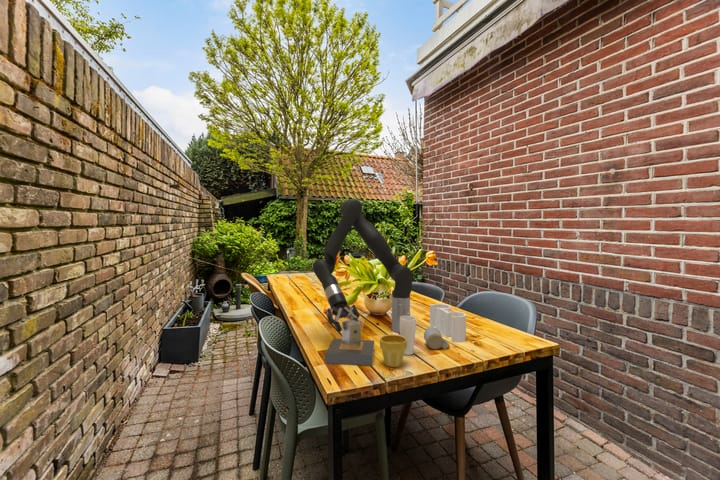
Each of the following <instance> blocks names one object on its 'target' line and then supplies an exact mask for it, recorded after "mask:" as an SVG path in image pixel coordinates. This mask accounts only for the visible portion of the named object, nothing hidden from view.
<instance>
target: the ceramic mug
mask: <svg viewBox="0 0 720 480" xmlns="http://www.w3.org/2000/svg"><path fill="white" fill-rule="evenodd" d="M423 339H424V340H425V343H426V345H427V346H428V348H430V349H432V350H438V349H441V348H442V347H443V348H445V349H449V347H450V343H449V342H448V341H446V340H445V339H444V338H443V336H442V334H441V333H440V331H439V330H438V329H437V328H436V327H430V326H429V327H428V328H426V329H425V330H424V332H423Z"/></svg>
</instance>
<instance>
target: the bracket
mask: <svg viewBox="0 0 720 480" xmlns="http://www.w3.org/2000/svg"><path fill="white" fill-rule="evenodd" d="M430 327H434V328H437V329H438V330H439V331H440V333H441V335H443V336H444V337H445V338H450V337H451V343H465V342H466V341H467V340H466V339H467V337H466V336H467V313H464V312H462V311H452V305H450V304H445V303H432V304H429V328H430Z"/></svg>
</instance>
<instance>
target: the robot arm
mask: <svg viewBox="0 0 720 480" xmlns="http://www.w3.org/2000/svg"><path fill="white" fill-rule="evenodd" d="M340 212H341V218H340V220H339V222H338V224H337V226H336V227H335V229H334V230H333V232H332V234H331V235H330V237H329V238H328V240H327V242H326V244H325V247H324V249H323V255H325V259H322V258H317V259H315V261H313V264H312V269H313V273H314V275H315V276H316V278H317V280H319V282H320V283H321V286H322V288H323V291H324V293H325V298H326V300H327V302H328V305H329V307H330V308H327V310H326V311H325V314H326V318H327V321H328V324H329V325H334V328H335V330H336V331H337V332H338V333H342V325H341V323H340V321H339V319H343V318H344V319H345V318H347V319H349V320H355V321H357V322H359V320H358V319H359V318H360V316H361V315H360V313H359V310H358V309H357V307H356V305H355V304H352V305H351V306H349V304H348V302H347V301H348V300H347V298H346V297H345V294H344V292H343V290H342V288H341V286H340V284H339V281H338V280H337V278H336V276H335V275H334V274H333V272H334V270H335V269H336V263H337V260H338V255H339V253H340V252H341V249H342V247H343V244H344V242H345V240H346V238H347V236H348V234H349V233H350V231H351V229H352V228H354V229H355V232H357V233H358V235H359V237H360V238H361V239H362V241H363V242H364V244H365V245H366V246H367V247H368V249H369V251H370V252H371V253H372V254H373V255H374V256H375V257H376V259H377V260H378V261H379V262H380V263H381V264H382V265H383V267H384V269H385V270H386V272H387V274H388V275H389V276H390V279H392V281H394V289H393V290H392V291H391V324H390V325H391V331H392V332H395V333H400V317H401V316H411V293H412V289H413V273H412V270H411V268H410V267H408V266H405V265H403V264H402V263H400V262H399V261H398V259H397V258H396V257H395V256H394V254H393V251H392V249H391V247H390V244H389V243H388V241H387V240H386V238H385V237H384V236H383V234H382V233H381V232H380V231H379V230H378V229H377V227H375V226H374V225H372V224H371V223H370V222H369V221H368V220H367V219H366V218H365V217H364V215H363V214H362V212H363V205H362V202H361V201H360V200H358V199H357V198H351V199H346V200H345V201H343V202H342V203H341V206H340ZM333 315H334V317H333Z"/></svg>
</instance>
